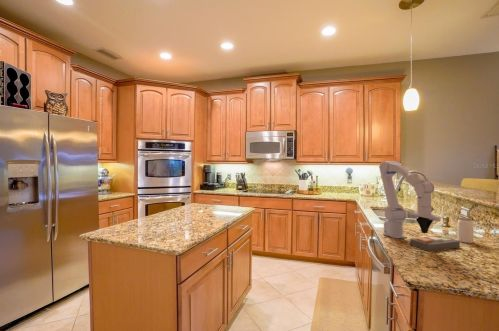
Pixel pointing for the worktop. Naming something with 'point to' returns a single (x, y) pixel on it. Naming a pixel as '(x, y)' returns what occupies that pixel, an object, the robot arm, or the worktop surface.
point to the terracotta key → (424, 240)
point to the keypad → (435, 244)
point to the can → (465, 230)
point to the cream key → (434, 239)
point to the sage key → (445, 239)
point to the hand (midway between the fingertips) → (424, 232)
